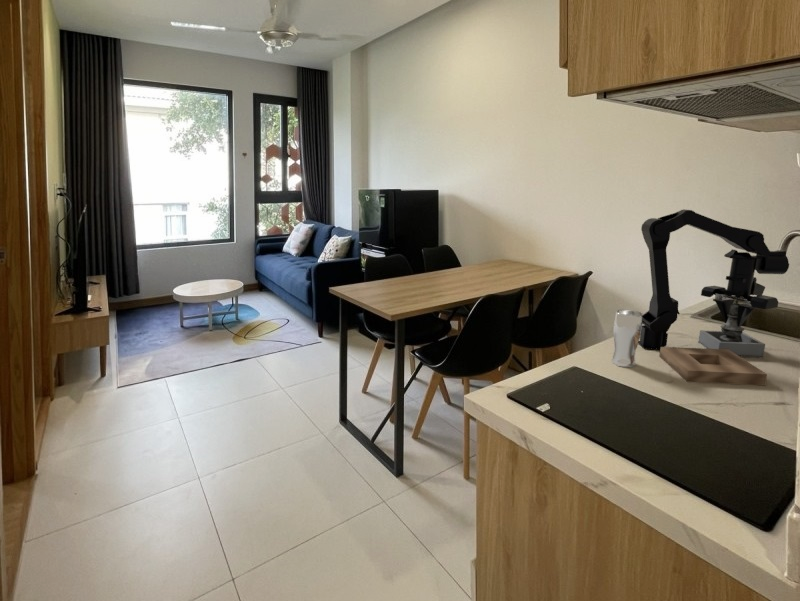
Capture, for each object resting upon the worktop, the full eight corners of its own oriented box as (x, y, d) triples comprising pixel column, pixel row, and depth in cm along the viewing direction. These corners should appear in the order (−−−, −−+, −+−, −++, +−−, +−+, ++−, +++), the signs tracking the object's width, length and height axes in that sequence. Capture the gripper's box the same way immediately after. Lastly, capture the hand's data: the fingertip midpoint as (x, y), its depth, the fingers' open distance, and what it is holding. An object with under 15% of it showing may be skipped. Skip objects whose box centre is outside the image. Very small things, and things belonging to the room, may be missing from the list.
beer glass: (631, 370, 124) (637, 317, 121) (605, 363, 129) (611, 312, 126) (641, 363, 129) (647, 312, 125) (615, 357, 134) (621, 307, 130)
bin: (717, 355, 134) (719, 342, 133) (698, 342, 146) (700, 330, 145) (762, 357, 132) (765, 344, 131) (739, 343, 144) (741, 331, 143)
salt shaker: (731, 342, 135) (738, 303, 132) (713, 336, 140) (720, 298, 137) (747, 341, 136) (754, 302, 133) (729, 335, 142) (736, 297, 139)
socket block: (686, 381, 117) (688, 370, 116) (659, 356, 134) (660, 346, 133) (765, 385, 114) (767, 374, 113) (726, 359, 131) (728, 349, 130)
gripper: (795, 277, 128) (784, 330, 131) (728, 266, 145) (720, 314, 148) (769, 280, 124) (759, 334, 128) (703, 269, 141) (696, 317, 144)
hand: (732, 324), depth 137 cm, fingers closed on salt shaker, 3 cm apart
